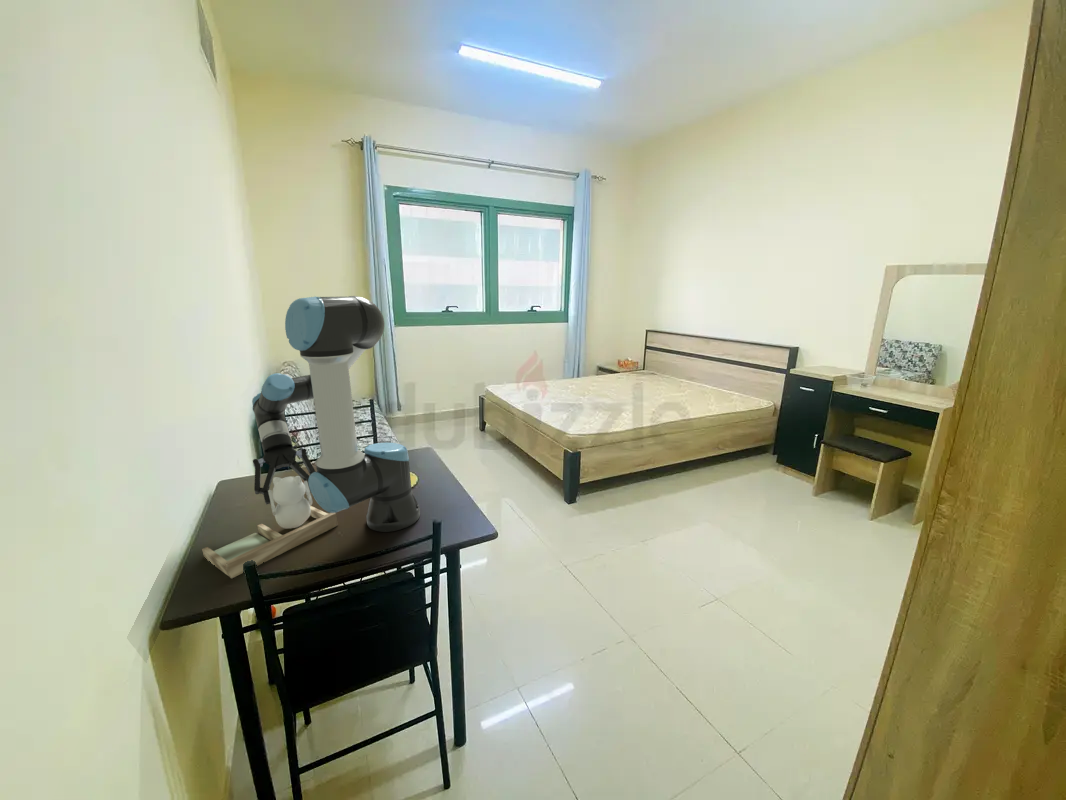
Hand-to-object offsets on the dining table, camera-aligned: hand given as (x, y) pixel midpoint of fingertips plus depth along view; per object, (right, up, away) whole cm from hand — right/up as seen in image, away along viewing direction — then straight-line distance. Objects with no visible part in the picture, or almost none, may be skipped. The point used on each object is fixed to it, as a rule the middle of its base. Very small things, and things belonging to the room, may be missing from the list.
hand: (293, 508), depth 118 cm
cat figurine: (-2, -5, +4) cm, 7 cm away
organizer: (-4, -8, -2) cm, 10 cm away
